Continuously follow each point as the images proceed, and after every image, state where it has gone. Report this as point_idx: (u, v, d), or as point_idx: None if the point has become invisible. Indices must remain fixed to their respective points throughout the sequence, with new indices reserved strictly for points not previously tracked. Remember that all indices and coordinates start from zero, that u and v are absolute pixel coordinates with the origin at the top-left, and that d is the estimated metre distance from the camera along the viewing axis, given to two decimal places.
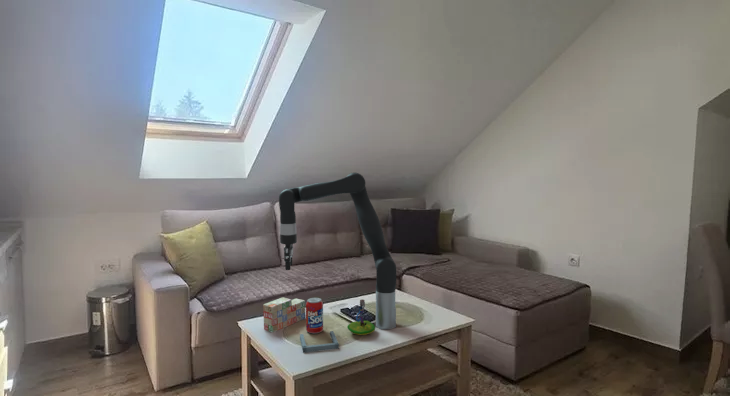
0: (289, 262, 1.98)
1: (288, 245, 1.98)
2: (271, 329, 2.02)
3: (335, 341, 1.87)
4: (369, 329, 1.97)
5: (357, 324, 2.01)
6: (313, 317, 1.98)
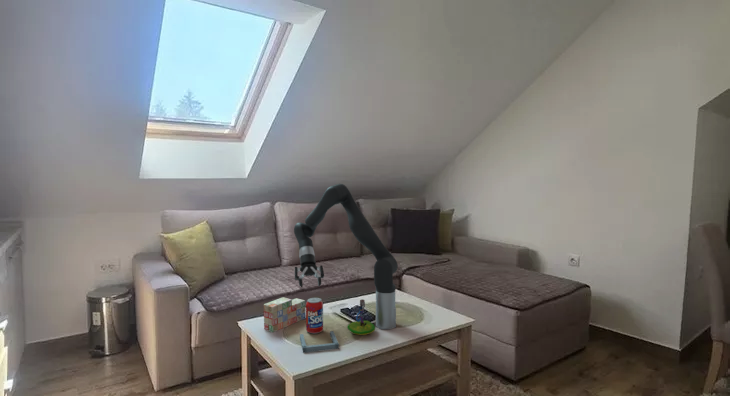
0: (300, 279, 2.11)
1: None
2: (271, 329, 2.02)
3: (335, 341, 1.87)
4: (369, 329, 1.97)
5: (357, 324, 2.01)
6: (313, 317, 1.98)
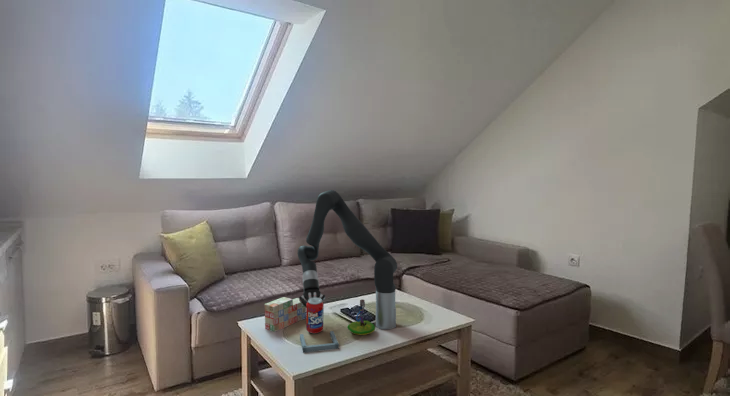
0: None
1: None
2: (272, 329, 2.02)
3: (335, 341, 1.87)
4: (369, 329, 1.97)
5: (357, 324, 2.01)
6: (314, 318, 1.97)
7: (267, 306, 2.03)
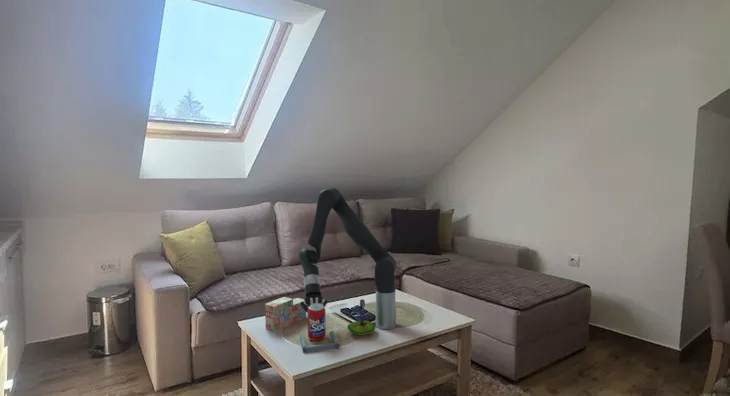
0: None
1: (305, 296, 2.02)
2: (273, 328, 2.03)
3: (335, 341, 1.87)
4: (369, 329, 1.97)
5: (357, 324, 2.01)
6: (315, 325, 1.89)
7: (267, 306, 2.03)
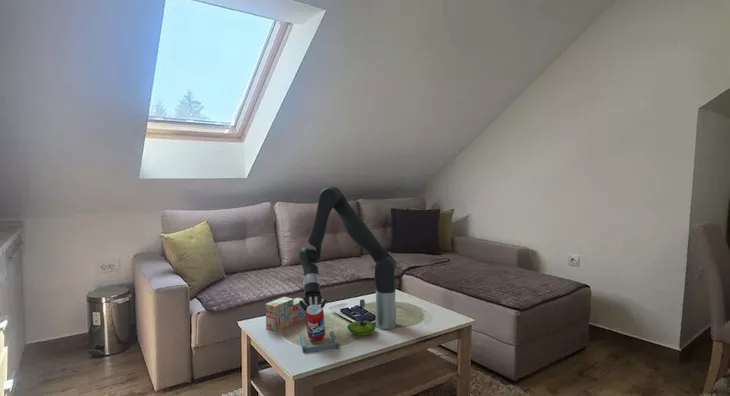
0: None
1: (304, 295, 2.01)
2: (273, 328, 2.03)
3: (335, 341, 1.87)
4: (369, 329, 1.97)
5: (357, 324, 2.01)
6: (314, 327, 1.87)
7: (268, 306, 2.04)
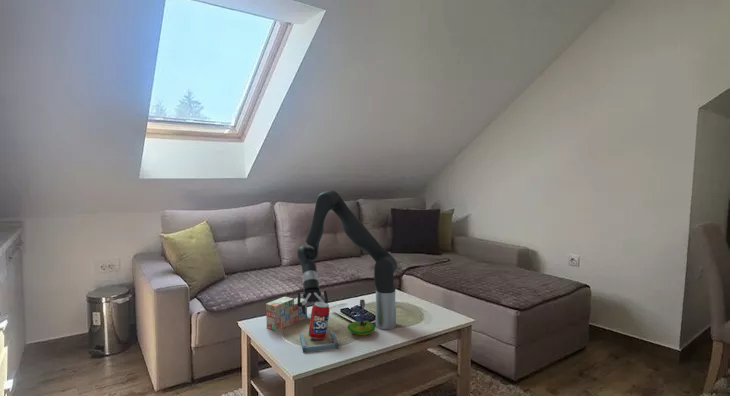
0: (303, 306, 2.04)
1: (304, 291, 2.10)
2: (274, 328, 2.03)
3: (335, 341, 1.87)
4: (369, 329, 1.97)
5: (357, 324, 2.01)
6: (320, 322, 1.90)
7: (269, 306, 2.04)
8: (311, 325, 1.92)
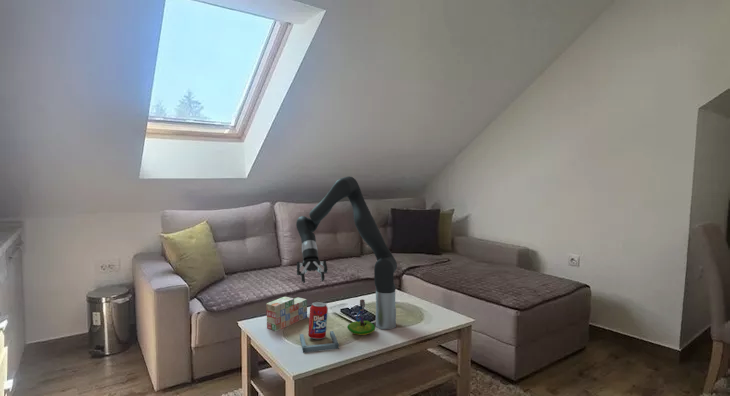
0: (302, 274, 2.03)
1: (303, 260, 2.09)
2: (274, 328, 2.03)
3: (335, 341, 1.87)
4: (369, 329, 1.97)
5: (357, 324, 2.01)
6: (320, 321, 1.91)
7: (269, 306, 2.04)
8: (311, 326, 1.92)
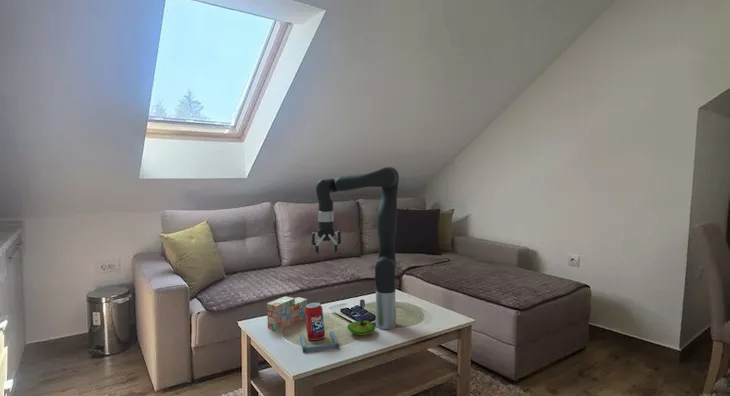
0: (317, 246, 2.13)
1: (318, 230, 2.13)
2: (275, 328, 2.03)
3: (335, 341, 1.87)
4: (369, 329, 1.97)
5: (357, 324, 2.01)
6: (318, 321, 1.91)
7: (270, 305, 2.04)
8: (310, 328, 1.91)
